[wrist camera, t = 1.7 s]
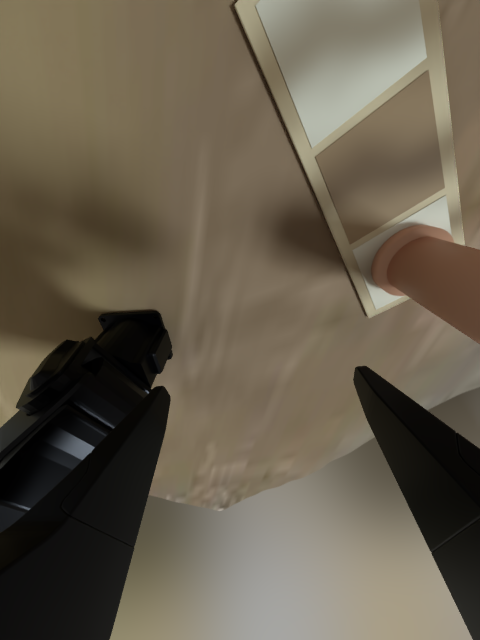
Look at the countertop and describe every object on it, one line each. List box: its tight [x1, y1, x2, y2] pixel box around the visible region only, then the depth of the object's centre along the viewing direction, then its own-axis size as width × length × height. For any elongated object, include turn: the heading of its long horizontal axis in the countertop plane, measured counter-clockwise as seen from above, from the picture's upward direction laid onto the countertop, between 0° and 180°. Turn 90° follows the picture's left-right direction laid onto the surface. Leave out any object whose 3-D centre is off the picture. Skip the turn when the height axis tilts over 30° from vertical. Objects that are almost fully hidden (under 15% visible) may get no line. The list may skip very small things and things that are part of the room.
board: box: [235, 0, 465, 318], centre depth 16 cm, size 25×9×1 cm, turn 35°
